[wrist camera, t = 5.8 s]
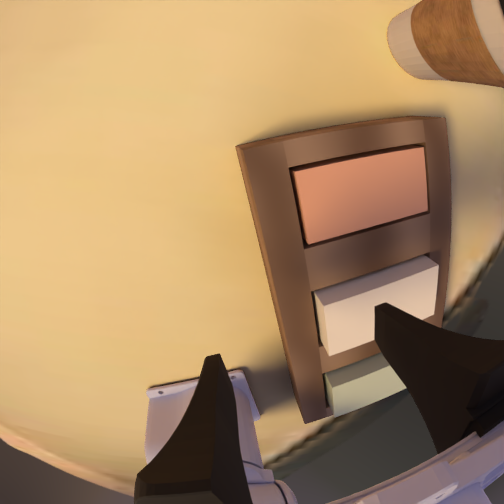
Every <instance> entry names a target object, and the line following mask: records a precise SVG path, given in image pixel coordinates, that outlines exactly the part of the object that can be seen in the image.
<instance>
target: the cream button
mask: <svg viewBox="0 0 504 504" xmlns="http://www.w3.org/2000/svg"><path fill="white" fill-rule="evenodd" d="M438 269H439V265H438V264H437V263H435V262H434V261H432V260H431V259H430V258H428V257H427V256H425V255H424V254H423V255H420V256H417V257H414V258H411V259H409V260H406V261H403V262H400V263H397V264H394V265H391V266H388V267H386V268H383V269H380V270H377V271H374V272H371V273H368V274H365V275H362V276H359V277H355V278H352V279H349V280H346V281H343V282H340V283H337V284H334V285H330V286H327V287H324V288H321V289H317V290H314V291H311V296H312V302H313V309H314V316H315V322H316V329H317V334H318V336H319V338H320V340H321V342H322V343H323V345H324V347H325V349H326V351H327V353H328V355H329V356H332V355H335V354H337V353H340V352H343V351H346V350H349V349H351V348H354V347H357V346H360V345H362V344H365V343H368V342H370V341H373V340H374V327H375V312H374V306H377V305H379V304H382V303H385V302H387V303H389V304H391V305H393V306H395V307H397V308H399V309H401V310H403V311H405V312H407V313H409V314H411V315H413V316H415V317H417V318H419V319H421V320H423V319H425V318H427V317H430V316H432V315H434V310H435V302H436V292H437V282H438Z"/></svg>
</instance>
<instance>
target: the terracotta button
mask: <svg viewBox="0 0 504 504" xmlns="http://www.w3.org/2000/svg"><path fill="white" fill-rule="evenodd" d="M289 173H290V178H291V183H292V188H293V193H294V198H295V203H296V209H297V214H298V219H299V225H300V230H301V236H302V238H303V239H304V240H305V241H306V242H307V243H308V244H312V243H315V242H319V241H322V240H326V239H330V238H333V237H337V236H340V235H344V234H347V233H351V232H354V231H358V230H361V229H365V228H369V227H372V226H376V225H379V224H383V223H386V222H390V221H393V220H397V219H400V218H404V217H407V216H411V215H414V214H418V213H421V212H425V211H428V203H427V182H426V168H425V156H424V147H420V146H414V145H402V146H396V147H390V148H384V149H378V150H372V151H367V152H361V153H356V154H351V155H345V156H340V157H335V158H330V159H325V160H321V161H316V162H311V163H307V164H302V165H298V166H293V167H289Z"/></svg>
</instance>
